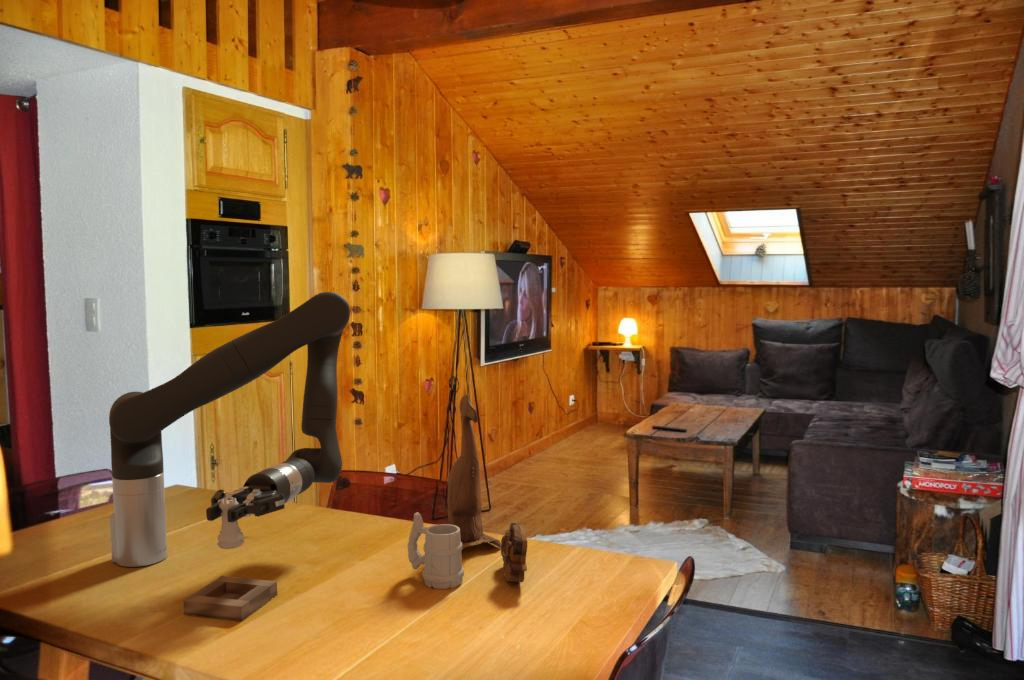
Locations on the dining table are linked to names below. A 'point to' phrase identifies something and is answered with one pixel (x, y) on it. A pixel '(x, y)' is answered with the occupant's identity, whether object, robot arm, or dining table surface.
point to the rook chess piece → (229, 527)
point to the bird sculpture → (467, 484)
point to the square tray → (230, 598)
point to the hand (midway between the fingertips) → (219, 515)
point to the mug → (437, 553)
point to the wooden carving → (514, 552)
